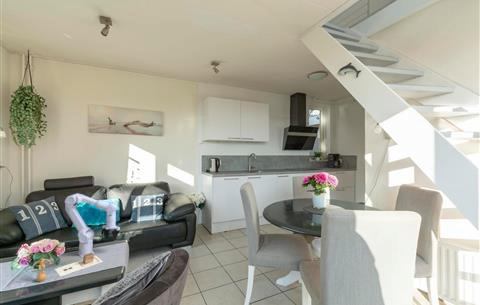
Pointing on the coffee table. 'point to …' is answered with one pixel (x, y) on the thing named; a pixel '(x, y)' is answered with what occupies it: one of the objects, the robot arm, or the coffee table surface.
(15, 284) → the coffee table surface
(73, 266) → the card
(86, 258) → the stained block
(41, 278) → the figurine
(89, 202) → the robot arm
